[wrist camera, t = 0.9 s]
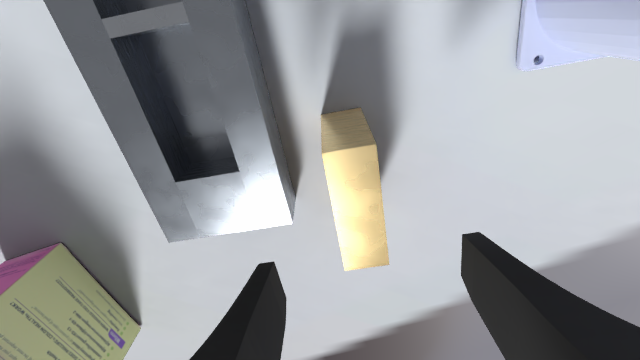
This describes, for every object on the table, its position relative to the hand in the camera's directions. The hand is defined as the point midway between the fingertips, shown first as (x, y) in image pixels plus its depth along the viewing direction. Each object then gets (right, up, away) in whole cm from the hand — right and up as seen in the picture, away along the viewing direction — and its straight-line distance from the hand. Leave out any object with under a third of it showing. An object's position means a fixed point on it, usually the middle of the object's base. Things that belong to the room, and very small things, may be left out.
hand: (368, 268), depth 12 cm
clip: (0, +5, +8) cm, 10 cm away
